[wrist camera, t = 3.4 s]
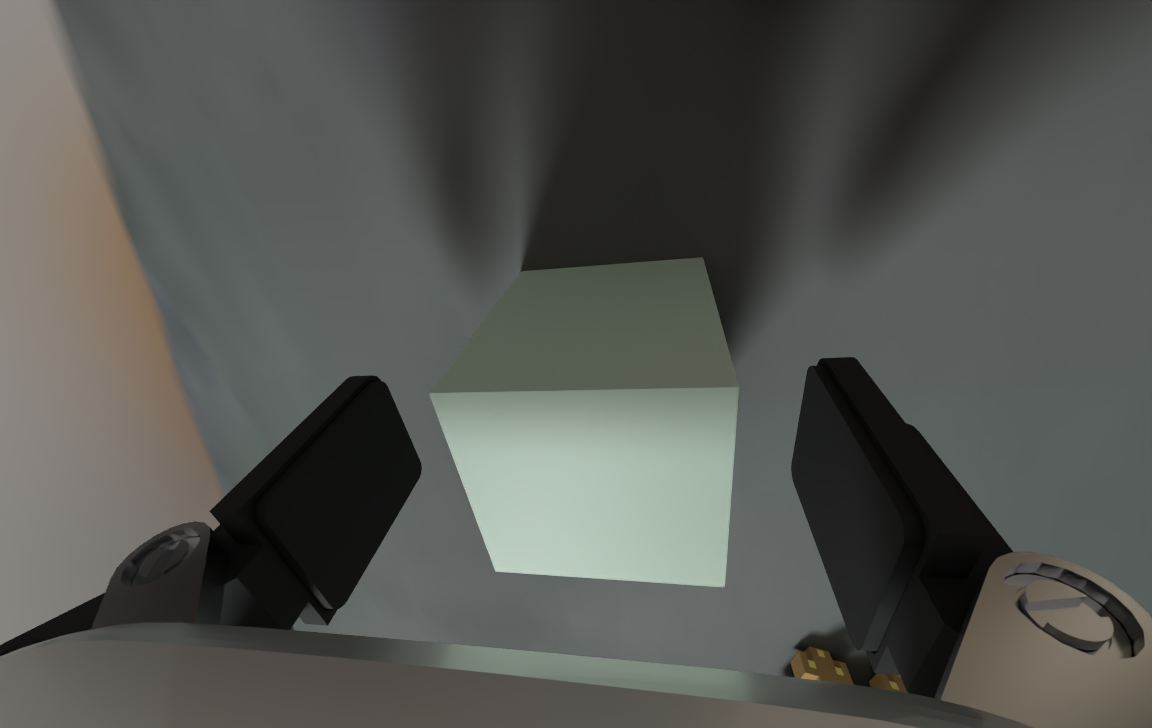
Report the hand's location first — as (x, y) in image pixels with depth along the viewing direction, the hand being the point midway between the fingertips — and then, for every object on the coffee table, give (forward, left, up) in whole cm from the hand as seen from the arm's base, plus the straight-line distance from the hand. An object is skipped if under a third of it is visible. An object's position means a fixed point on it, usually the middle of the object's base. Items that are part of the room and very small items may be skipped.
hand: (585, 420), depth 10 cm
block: (0, 0, -4) cm, 4 cm away
